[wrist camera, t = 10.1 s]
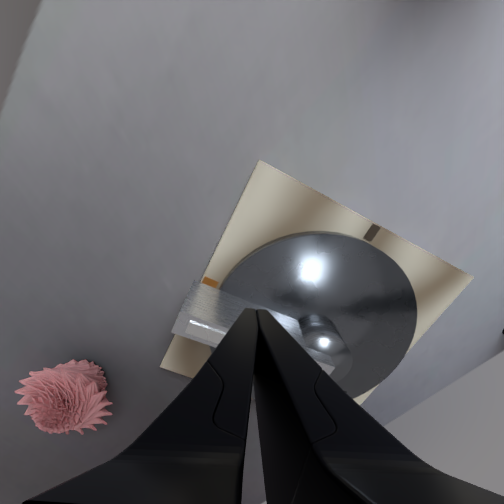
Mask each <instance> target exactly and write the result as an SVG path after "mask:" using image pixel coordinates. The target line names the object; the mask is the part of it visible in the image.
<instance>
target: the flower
mask: <svg viewBox="0 0 504 504" xmlns="http://www.w3.org/2000/svg"><path fill="white" fill-rule="evenodd" d="M43 369H44V370H43V371H38V372H32V371H30V373H29V374H30V375H31V376H32V377H29V378H26V379H23V380H20V381H19V382H21V383H22V384H24V385H26V386H25V387H23V388H21V389H18V390H16V391H15V393H18V394H22V395H25V396H24V397H23V398H22V399H21V400H20V401H19V402H18V403H17V404H18V405H20V404H27V405H29V407H28V409H27V410H26V412H25V414H26V415H30V414H31V415H30V416H32V418H31V419H32V420H34V422H35V424H36V425H35V426H37V427H38V428H39V429H40V430H43V431H44V432H47V431H48V432H49V433H50V434H51V433H53V432H54V433H56V432H57V433H59V434H60V433H63V432H66V435H67V434H69V430H76V431H78V432H80V433H81V434H82V435H83V434H84V432H83V430H82V428H91V429H93V430H95V431H97V429H96V428H95V427H94V425H93V424H99V423H103V424H105V425H106V424H107V422H105V421H104V420H103V419H102V418H101V416H106V415H113V414H111V412H109V411H107V410H106V409H105V408H104V407H105V406H107V405H110V404H113V403H112V402H109V401H108V400H107V398H106V397H105V395H106V393H107V391H104V390H105V387H106V386H107V385H108V384H107V383H106V382H107V381H105V379H106V378H105V377H103V374H104V371H100V370H101V369H102V367H99V365H95V364H94V362H90V363H89V362H88V361H87V360H86V359H85V360H82V361H81V360H80V361H79V362H77V361H76V360H74V359H73V360H71V361H70V362H68V363H65V364H61V363H60V364H59V365H58V366H56V367H55V368H52V369H51V368H43ZM25 414H24V415H25Z"/></svg>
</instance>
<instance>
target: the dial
mask: <svg viewBox="0 0 504 504" xmlns="http://www.w3.org/2000/svg"><path fill="white" fill-rule="evenodd" d="M244 308H254V309H255V310H256V309H266V310H268V311H269V312H270V313H271V314H272V315H273V317H274V318H275V319H276V320H277V321H278V322H279V323H280V324H281V325H282V326H283V327H284V328H285V329H286V330H287V331H288V332H289V334H290V335H291V336H292V337H293V338H294V339H295V340H296V341H297V342H298V343H299V344H300V345H301V346H302V347H303V348H304V350H305V351H306V352H307V353H308V354H309V355H310V356H311V357H312V358H313V359H314V360H315V361H316V362H317V363H318V364H319V365H320V367H321V368H322V370H324V371H325V372H326V373H327V374H328V375H329V376H330V377H331V378H332V379H333V380H334V381H335V382H336V383H337V384H338V385H339V386H340V387H341V388H342V389H343V390H344V391H345V392H346V393H347V394H348V395H349V396H350V397H351V398H352V399H354V398H356V397H359V396H360V395H362V394H364V393H366V392H368V391H369V390H371V389H372V388H374V387H375V386H377V385H378V384H379V383H381V382H382V381H383V380H384V379H385V378H386V377H388V376H389V375H390V374H391V372H392V371H393V370H394V369H395V368H396V367H397V366H398V364H399V363H400V362H401V360H402V359H403V358H404V356H405V354H406V352H407V351H408V349H409V347H410V344H411V342H412V340H413V337H414V333H415V329H416V324H417V302H416V298H415V293H414V290H413V288H412V285H411V283H410V281H409V279H408V277H407V276H406V274H405V273H404V271H403V270H402V269H401V268H400V266H399V265H398V264H397V263H396V262H395V261H394V260H393V259H392V258H390V257H389V256H388V255H387V254H385V253H384V252H383V251H381V250H379V249H378V248H376V247H374V246H372V245H371V244H369V243H367V242H365V241H364V240H361V239H359V238H356V237H353V236H351V235H347V234H342V233H338V232H330V231H306V232H300V233H293V234H290V235H286V236H283V237H279V238H277V239H274V240H272V241H270V242H267V243H265V244H263V245H262V246H260V247H258V248H256V249H255V250H253V251H252V252H250V253H249V254H248V255H246V256H245V257H244V258H242V259H241V260H240V261H239V262H238V263H237V264H236V265H235V266H234V267H233V268H232V269H231V271H230V272H229V273H228V274H227V276H226V277H225V278H224V280H223V282H222V283H221V285H220V287H219V289H216V288H213V287H211V286H208V285H206V284H203V283H201V282H198V281H195V280H194V282H193V284H192V286H191V288H190V291H189V293H188V295H187V297H186V299H185V301H184V304H183V306H182V308H181V310H180V312H179V315H178V317H177V319H176V322H175V324H174V327H173V329H172V331H171V332H172V333H174V334H177V335H180V336H183V337H186V338H189V339H192V340H195V341H198V342H201V343H203V344H206V345H209V346H210V350H211V353H212V352H213V351H214V350H215V348H216V347H217V345H218V344H219V343H220V341H221V340H222V339H223V337H224V336H225V334H226V333H227V332H228V330H229V329H230V328H231V326H232V325H233V323H234V322H235V321H236V319H237V318H238V316H239V315H240V314H241V312H242V311H243V310H244ZM251 398H252V399H254V400H255V393H254V384H253V385H252V394H251Z"/></svg>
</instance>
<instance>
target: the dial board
mask: <svg viewBox="0 0 504 504" xmlns="http://www.w3.org/2000/svg"><path fill="white" fill-rule="evenodd" d="M306 231H330V232H338V233H342V234H347V235H351V236H353V237H356V238H359V239H361V240H364V241H365V242H367V243H369V244H371V245H372V246H374V247H376V248H378V249H379V250H381V251H383V252H384V253H385V254H387V255H388V256H389V257H390V258H392V259H393V260H394V261H395V262H396V263H397V264H398V265H399V266H400V268H401V269H402V270H403V271H404V273H405V274H406V276H407V277H408V279H409V281H410V283H411V285H412V288H413V290H414V293H415V298H416V302H417V324H416V329H415V333H414V337H413V340H412V342H411V344H410V347H409V349H408V351H409V350H410V349H411V348H412V347H413V345H414V344H415V343H416V342H417V341H418V340H419V339H420V338H421V337H422V335H423V334H424V333H425V332H426V331H427V330H428V329H429V328H430V326H431V325H432V324H433V323H434V322H435V321H436V320H437V319H438V317H439V316H440V315H441V314H442V313H443V312H444V311H445V310H446V308H447V307H448V306H449V305H450V304H451V303H452V302H453V301H454V299H455V298H456V297H457V296H458V295H459V294H460V293H461V292H462V291H463V289H464V288H465V287H466V286H467V285H468V284H469V283H470V282H471V280H472V279H473V278H474V277H473V276H471V275H469V274H467V273H465V272H464V271H462V270H460V269H458V268H456V267H455V266H453V265H451V264H449V263H447V262H445V261H444V260H442V259H440V258H438V257H436V256H434V255H433V254H431V253H429V252H427V251H425V250H424V249H422V248H420V247H418V246H416V245H414V244H413V243H411V242H409V241H407V240H405V239H403V238H402V237H400V236H398V235H396V234H394V233H393V232H391V231H389V230H387V229H385V228H383V227H382V226H380V225H378V224H376V223H374V222H372V221H371V220H369V219H367V218H365V217H363V216H362V215H360V214H358V213H356V212H354V211H352V210H351V209H349V208H347V207H345V206H343V205H341V204H340V203H338V202H336V201H334V200H332V199H331V198H329V197H327V196H325V195H323V194H321V193H320V192H318V191H316V190H314V189H312V188H310V187H309V186H307V185H305V184H303V183H301V182H300V181H298V180H296V179H294V178H292V177H290V176H289V175H287V174H285V173H283V172H281V171H279V170H278V169H276V168H274V167H272V166H270V165H269V164H267V163H265V162H263V161H261V160H258V162H257V164H256V166H255V168H254V170H253V173H252V175H251V177H250V179H249V181H248V183H247V185H246V187H245V189H244V191H243V193H242V195H241V198H240V200H239V202H238V204H237V206H236V208H235V210H234V212H233V214H232V216H231V218H230V220H229V223H228V225H227V227H226V229H225V231H224V233H223V235H222V237H221V239H220V241H219V243H218V245H217V248H216V250H215V252H214V254H213V256H212V258H211V260H210V262H209V264H208V266H207V268H206V270H205V273H204V275H203V277H202V279H201V281H200V282H201V283H203V284H206V285H208V286H211V287H213V288H216V289H219V287H220V285H221V283H222V282H223V280H224V278H225V277H226V276H227V274H228V273H229V272H230V271H231V269H232V268H233V267H234V266H235V265H236V264H237V263H238V262H239V261H240V260H241V259H242V258H244V257H245V256H246V255H248V254H249V253H250V252H252V251H253V250H255V249H256V248H258V247H260V246H262V245H263V244H265V243H267V242H270V241H272V240H274V239H277V238H279V237H283V236H286V235H290V234H293V233H300V232H306ZM408 351H407V352H408ZM407 352H406V353H407ZM211 354H212V353H211V350H210V346H209V345H206V344H203V343H201V342H198V341H195V340H192V339H189V338H186V337H183V336H180V335H177V334H175V335H174V337H173V339H172V341H171V343H170V346H169V348H168V350H167V352H166V354H165V356H164V358H163V361H162V363H161V365H160V367H161V368H164V369H167V370H170V371H173V372H176V373H179V374H182V375H184V376H187V377H190V378H194V377H195V375H196V374H197V373H198V371H199V370H200V369H201V367H202V366H203V365H204V363H205V362H206V361H207V359H208V358H209V356H210V355H211ZM379 384H380V383H379ZM379 384H378V385H379ZM378 385H377V386H378ZM377 386H375V387H374V388H372V389H371V390H369V391H368V392H366V393H364V394H362V395H360V396H359V397H356V398H354V399H353V400H354V401H355V402H356V403H358V404H359V405H361V404H362V403H363V402H364V400H365V399H366V398H367V397H368V396H369V395H370V394H371V393H372V391H373V390H374V389H375V388H376V387H377ZM251 399H252V398H251Z"/></svg>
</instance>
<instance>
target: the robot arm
mask: <svg viewBox="0 0 504 504" xmlns="http://www.w3.org/2000/svg"><path fill="white" fill-rule="evenodd" d="M503 334H504V329H503ZM253 384H254V393H255V402H256V411H257V420H258V429H259V438H260V447H261V456H262V465H263V474H264V483H265V492H266V501H267V504H504V496H501V495H498V494H496V493H494V492H491V491H488V490H485V489H483V488H481V487H478V486H475V485H473V484H470V483H468V482H465V481H463V480H460V479H457V478H455V477H452V476H449V475H447V474H445V473H443V472H441V471H439V470H437V469H435V468H433V467H432V466H430V465H429V464H427V463H425V462H424V461H423V460H421V459H420V458H419V457H417V456H416V455H415V454H413V453H412V452H411V451H410V450H409V449H407V448H406V447H405V446H404V445H403V444H402V443H401V442H400V441H398V440H397V439H396V438H395V437H394V436H393V435H392V434H391V433H390V432H388V431H387V430H386V429H385V428H384V427H383V426H382V425H381V424H380V423H378V422H377V421H376V420H375V419H374V418H373V417H372V416H371V415H370V414H368V413H367V412H366V411H365V410H364V409H363V408H362V407H361V406H360V405H359V404H358V403H356V402H355V401H354V400H353V399H352V398H351V397H350V396H349V395H348V394H347V393H346V392H345V391H344V390H343V389H342V388H341V387H340V386H339V385H338V384H337V383H336V382H335V381H334V380H333V379H332V378H331V377H330V376H329V375H328V374H327V373H326V372H325V371H324V370H322V368H321V367H320V365H319V364H318V363H317V362H316V361H315V360H314V359H313V358H312V357H311V356H310V355H309V354H308V353H307V352H306V351H305V350H304V348H303V347H302V346H301V345H300V344H299V343H298V342H297V341H296V340H295V339H294V338H293V337H292V336H291V335H290V334H289V332H288V331H287V330H286V329H285V328H284V327H283V326H282V325H281V324H280V323H279V322H278V321H277V320H276V319H275V318H274V317H273V315H272V314H271V313H270V312H269V311H268V310H266V309H256V310H255V309H254V308H244V310H243V311H242V312H241V314H240V315H239V316H238V318H237V319H236V321H235V322H234V323H233V325H232V326H231V328H230V329H229V330H228V332H227V333H226V334H225V336H224V337H223V339H222V340H221V341H220V343H219V344H218V345H217V347H216V348H215V350H214V351H213V352H212V354H211V355H210V356H209V358H208V359H207V361H206V362H205V363H204V365H203V366H202V367H201V369H200V370H199V371H198V373H197V374H196V375H195V377H194V378H193V379H192V380H191V382H190V383H189V384H188V385H187V386H186V387H185V388H184V390H183V391H182V392H181V393H180V394H179V395H178V396H177V397H176V398H175V399H174V400H173V401H172V403H171V404H170V405H169V406H168V407H167V408H166V409H165V410H164V411H163V412H162V413H161V414H160V415H159V416H158V417H157V418H156V419H155V420H154V421H153V422H152V424H151V425H150V426H149V427H148V428H147V429H146V430H145V431H144V432H143V433H142V434H141V435H140V436H139V437H138V438H137V439H136V440H135V441H134V442H133V443H132V444H131V445H130V446H129V447H127V448H126V449H125V450H124V451H123V452H121V453H120V454H119V455H117V456H116V457H114V458H113V459H111V460H110V461H108V462H106V463H104V464H102V465H99V466H97V467H95V468H93V469H91V470H89V471H87V472H85V473H83V474H81V475H78V476H76V477H74V478H72V479H70V480H68V481H66V482H64V483H62V484H60V485H58V486H55V487H53V488H51V489H49V490H47V491H45V492H43V493H41V494H39V495H37V496H34V497H32V498H30V499H28V500H26V501H24V502H23V503H22V504H241V499H242V482H243V468H244V457H245V448H246V439H247V430H248V421H249V412H250V403H251V394H252V385H253Z"/></svg>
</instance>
